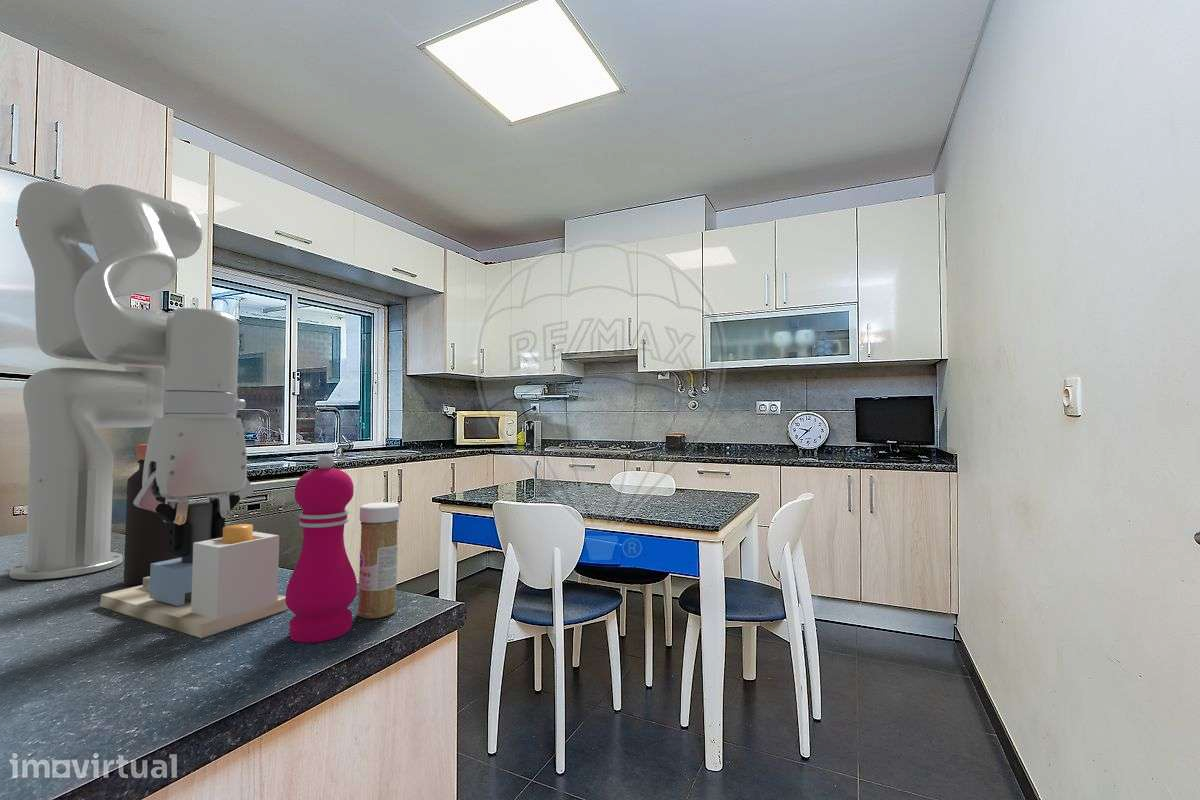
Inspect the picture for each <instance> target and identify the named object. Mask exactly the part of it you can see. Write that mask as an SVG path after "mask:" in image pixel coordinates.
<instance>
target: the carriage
mask: <svg viewBox="0 0 1200 800" xmlns="http://www.w3.org/2000/svg"><path fill="white" fill-rule="evenodd" d="M212 504H213V503H207V502H194V503H189V504H188V511H187V518H186V523H189V524H191V546H190V554H189V555H188V556H185V557H181V558H176V559H171V560H167V561H162V562H157V563H152V564H151V567H150V596H149V598H150V599H154V600H158V601H161V602H165V603H168V604H172V605H176V606H178V605H182V604H185V593H189V592H192V568H193V543H195V542H201V541H206V540H211V536H212Z"/></svg>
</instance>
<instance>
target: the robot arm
mask: <svg viewBox="0 0 1200 800" xmlns="http://www.w3.org/2000/svg"><path fill="white" fill-rule="evenodd" d="M16 220H17V221H16V222H17V228H18V232H19V235H20V239H21V241H22V244H23V247H24V249H25V251H26V253H27V257H28V259H29V261H30V264H31V267H32V270H33V275H34V301H35V302H34V308H35V313H34V314H35V331H36V332H35V334H36V340H37V344H38V347H39V349H40V350H41V352H43V353H44V354H45V355H47V356H49V357H51V358H55V359H60V360H66V361H75V362H85V363H96V364H97V363H98V364H99V363H101V364H108V365H112V366H120V367H121V366H122V367H124V370H125V371H124V370H111V369H97V368H87V367H86V368H84V367H64V366H63V367H52V368H45V369H42V370H39V371H37V372H35V373H32V375H31V376H29V378H27V380H26V381H25V384H24V385H23V390H22V391H23V392H22V398H23V405H24V406H23V407H24V410H25V411H24V412H25V417H26V422H27V428H28V438H29V443H28V444H29V458H28V460H29V461H28V462H29V463H28V464H29V465H28V471H29V472H28V491H27V514H26V516H27V518H26V537H25V539H26V540H25V558H24V559H25V561H24V562H23V563H20V564H17V565H14V566H13V567H11V568H10V569H9V574H8V575H9V578H11V579H13V580H19V581H21V580H22V581H37V580H38V581H39V580H40V581H41V580H52V579H59V578H69V577H75V576H81V575H86V574H91V573H95V572H100V571H104V570H108V569H110V568H113V567H116V566H119V565H120V564H121V563H122V562H124V561H123V560H124V559H123V557H124V556H123V554H122V553H119V552H114V551H111V542H112V540H111V539H112V537H111V536H112V518H113V517H112V514H113V513H112V512H113V490H114V487H113V486H114V485H113V484H114V482H113V481H114V454H113V452H112V450H111V448H110V447H109V445H108V444H107V442H105V441H104V439H103V438H102V437H101V436H100V435H99V434H98V433H97V432H96V431H95V429H107V428H108V429H110V428H111V429H112V428H114V429H115V428H124V429H126V428H149V427H151V429H150V432H149V437H148V438H147V439H148V440H147V443H146V444H147V449H146V454H145V461H144V469H143V479H142V489H141V491H140V492H139V494H138V495H137V497H136V498H135V500H134V502H133V504H134V505H135V506H137V507H140V508H143V509H146V510H149V511H152V512H154V513H155V514H156V515H158V516H159V517H160V518H162V519H163V521H164V522H166V523H168V535H167V548H168V549H169V550H170V554H171V555H175V556H180V557H185V556H188V555H189V554H190V546H191V524H189V523H186V518H187V511H188V504H190V498H200V497H206V500H207V502H206V503H213V504H212V536H211V539H217V538H222V537H223V527H225V526H226V518H228V517H229V516H230V515H231V511H232V510H233V509H234V508H235V507H236V506H237V504H239V503H240V501H242V500H244V499H245V498H247V497H248V496H250V495H251V494H252V493H254V488H253V486H252V484H251V482H250V481H249V478H248V477H247V476H248V475H247V474H248V465H247V464H248V461H247V460H248V459H247V458H248V457H247V456H248V455H247V445H246V444H247V443H246V439H245V437H246V436H245V432H244V431H245V430H244V427H243V422H242V418H241V417H237V414H238V411H239V410H243V409H245V408H246V406H247V403H246V400H245V399H241V398H239V394H238V373H239V370H238V368H239V367H238V366H239V340H240V338H239V337H240V336H239V335H240V330H239V329H240V328H239V327H240V326H239V322H238V320H237V318H236V317H235V316H233V315H232V314H230V313H227V312H225V311H220V310H215V309H206V308H198V307H197V308H194V307H184V308H177V309H173V310H172V311H171V312H166V311H160V310H159V311H158V310H151V309H146V308H139V307H130V306H124V305H120V303H119V304H118V303H117V301H116V299H115V298H119V297H126V296H131V295H133V296H134V295H138V294H144V293H149V292H153V291H157V290H160V289H162V288H164V287H165V286H168V285H169V284H170V283H172V281H173V280H174V279H175V278H176V277H177V275H178V271H179V268H178V267H179V266H178V261H177V260H179V259H187V258H190V257H192V256H194V255H195V254H196V253H197V252H198V250H199V249H200V247H201V245H202V243H203V242H202V241H203V229H202V228H203V227H202V224H201V222H200V220H199V218H198V216H197V215H196V214H195V212H194V211H192V210H191V209H190V208H189V207H187V206H185V205H183V204H181V203H178V202H176V201H172V200H168V199H167V198H162V197H159V196H156V195H153V194H150V193H146V192H143V191H141V190H138V189H134V188H130V187H126V186H122V185H120V184H119V185H118V184H108V183H102V184H97V185H93V186H91V187H89V188H87V189H86V188H84V187H80V186H75V185H71V184H68V183H67V184H66V183H62V182H56V181H48V180H47V181H44V180H43V181H34V182H31V183H28V184H27V185H26V186H25V187H24V188H23V189H22V191H21V192H20V195H19V198H18V202H17V210H16ZM80 244H84V245H89V246H92V247H93V248H94V249H93V250H94V252H95V254H96V257H97V259H98V261H97V262H96V260H95V259H94V258H93V257H91V255H90V254H89V253H88V252H87V251H85V250H84V248H83V247H81V246H80ZM155 497H164V498H166V500H165V503H162V502H160V501H157V500H156V498H155Z"/></svg>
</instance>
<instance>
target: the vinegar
mask: <svg viewBox="0 0 1200 800" xmlns="http://www.w3.org/2000/svg"><path fill="white" fill-rule="evenodd" d="M147 444H148V443H140V444H136V460H137V461H136V463H138V464H139V466H138V470H136V471H135V472H134V473H133V474H132V475H130V477H128V478H127V481H126V482H127V483H126V504H125V505H126V511H125V515H126V516H125V530H124V531H125V533H124V536H125V537H124V559H123V560H124V561H123V562H124V563H123V565H124V567H123V584H124V585H125V586H128V587H136V586H140V585H143V578H144V577H148V576H150V567H151V564H152V563H157V562H162V561H167V560H171V559H176V558H181V557H180V556H175V555H171V554H170V550H169V549H168V548H167V535H168V523H166V522H164V521H163V519H162V518H160V517H159V516H158V515H156V514H155V513H154V512H152V511H149V510H146V509H143V508H140V507H137V506H135V505H134V504H133V502H134V500H135V498H136V497H137V495H138V494H139V492H140V491H141V489H142V479H143V469H144V461H145V454H146V449H147ZM155 498H156V500H157V501H160V502H162V503H165V500H166V498H164V497H155Z"/></svg>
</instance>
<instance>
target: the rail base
mask: <svg viewBox="0 0 1200 800" xmlns="http://www.w3.org/2000/svg"><path fill="white" fill-rule="evenodd" d="M149 596H150V576H148V577H144V578H143V585H140V586H130V587H128V588H124V589H119V590H114V591H110V592H105V593H102V594H100V608H104V609H108V610H111V611H113V612H116V613H121V614H123V615H127V616H130V617H132V618H136V619H139V620H143V621H145V622H149V623H152V624H155V625H159V626H162V627H164V628H167V629H168V628H169V629H172V630H174V631H177V632H181V633H182V634H183V633H184V634H187V635H190V636H192V637H193V636H194V637H196V638H200V639H203V638H206V637H209V636H213V635H216V634H218V633H222V632H225V631H227V630H231V629H234V628H236V627H239V626H242V625H246V624H248V623H251V622H255V621H257V620H261V619H264V618H266V617H269V616H272V615H275V614H279V613H281V612H284V611H287V610H290V609H289V608H288V607H287V605H286V602H285V598H286V595H281V594H278V601H275V602H272V603H269V604H266V605H262V606H259V607H256V608H253V609H250V610H246V611H243V612H240V613H237V614H234V615H230V616H227V617H224V618H221V619H217V620H216V619H212V618H209V617H205V616H202V615H198V614H195V613H191V599H192V592H189V593H185V604H182V605H178V606H176V605H172V604H168V603H165V602H161V601H158V600H154V599H150V598H149Z"/></svg>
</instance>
